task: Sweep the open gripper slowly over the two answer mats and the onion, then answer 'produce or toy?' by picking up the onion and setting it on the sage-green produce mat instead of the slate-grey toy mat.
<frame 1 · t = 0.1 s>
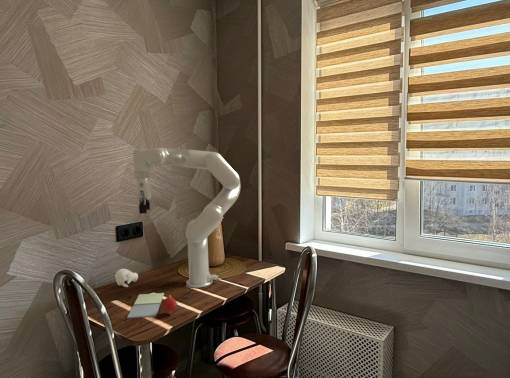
hand: (144, 211, 185), 37 cm above the table, tool pointing down, fingers open, 9 cm apart
produce mat: (149, 299, 173), on the table
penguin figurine: (128, 284, 194), on the table
onion: (170, 315, 157), on the table
toy mat: (144, 311, 161), on the table
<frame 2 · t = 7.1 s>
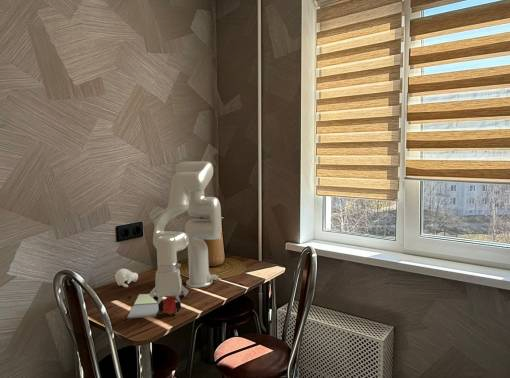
hand: (169, 310, 157), 2 cm above the table, tool pointing down, fingers closed on onion, 5 cm apart
onion: (170, 315, 157), on the table, touching gripper
everything else where it was.
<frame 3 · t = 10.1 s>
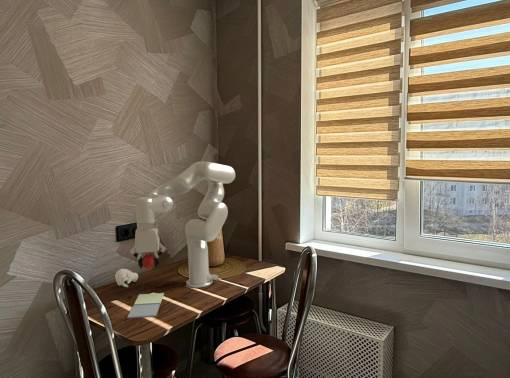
hand: (149, 266, 171), 15 cm above the table, tool pointing down, fingers closed on onion, 5 cm apart
onion: (149, 270, 171), point 13 cm above the table, touching gripper
everything else where it was.
when the fingers open (3 cm above the table, at t = 13.0 s): onion drops 1 cm, resting on produce mat.
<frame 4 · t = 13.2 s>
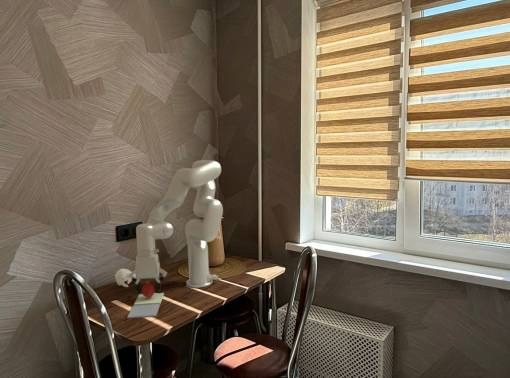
hand: (149, 291, 173), 4 cm above the table, tool pointing down, fingers open, 7 cm apart
onion: (149, 298, 173), resting on produce mat
everything else where it was.
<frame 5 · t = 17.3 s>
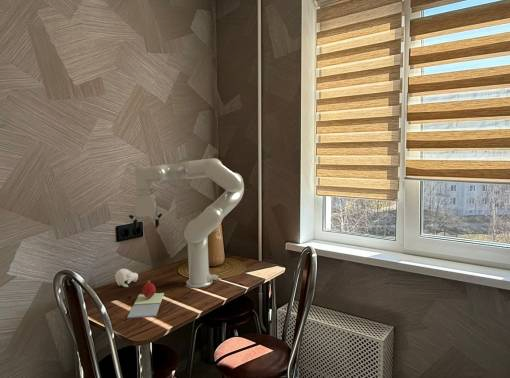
hand: (146, 227, 188), 28 cm above the table, tool pointing down, fingers open, 9 cm apart
nothing on the table moved.
at the end: onion inside the target area on the produce mat (0.1 cm from its centre), point 0.4 cm above the produce mat's base; onion touching produce mat; the gripper is holding nothing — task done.
